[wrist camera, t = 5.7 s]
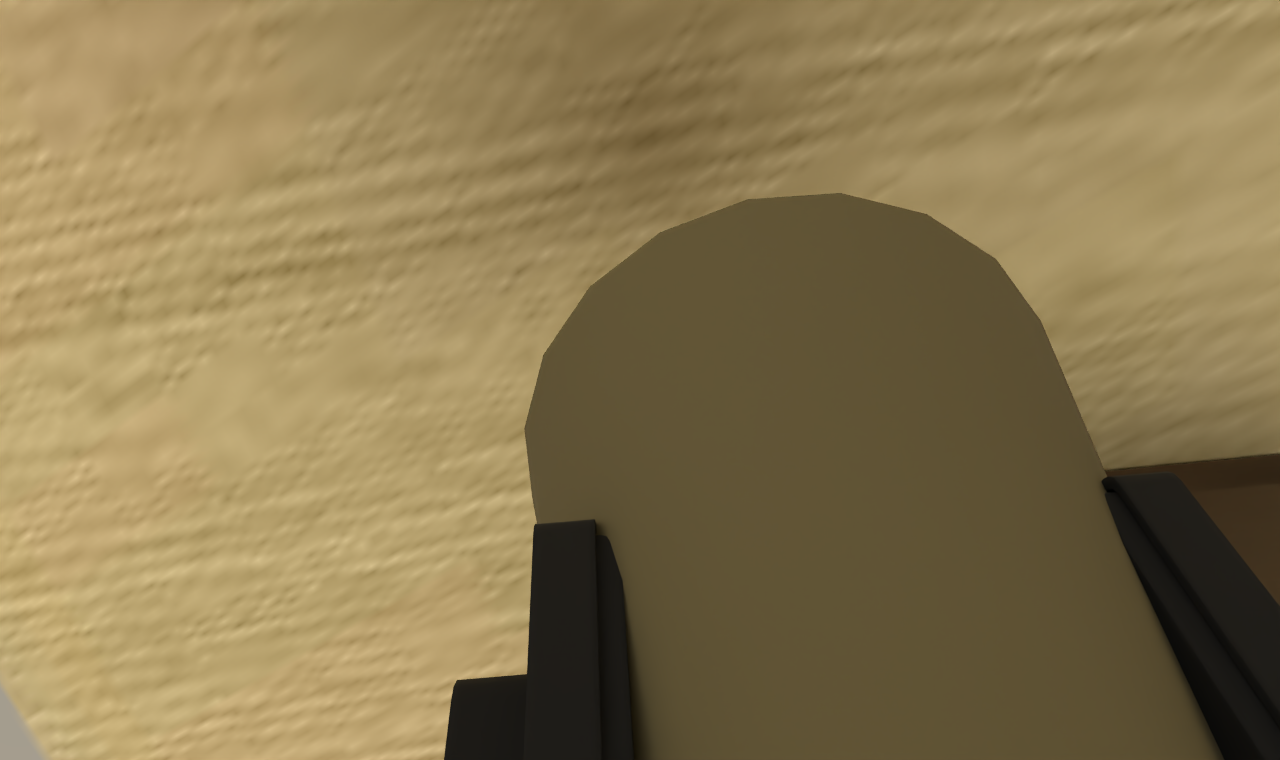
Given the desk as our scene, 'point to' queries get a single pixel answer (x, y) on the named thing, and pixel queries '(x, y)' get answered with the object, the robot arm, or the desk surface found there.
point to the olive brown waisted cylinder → (849, 501)
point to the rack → (1238, 506)
